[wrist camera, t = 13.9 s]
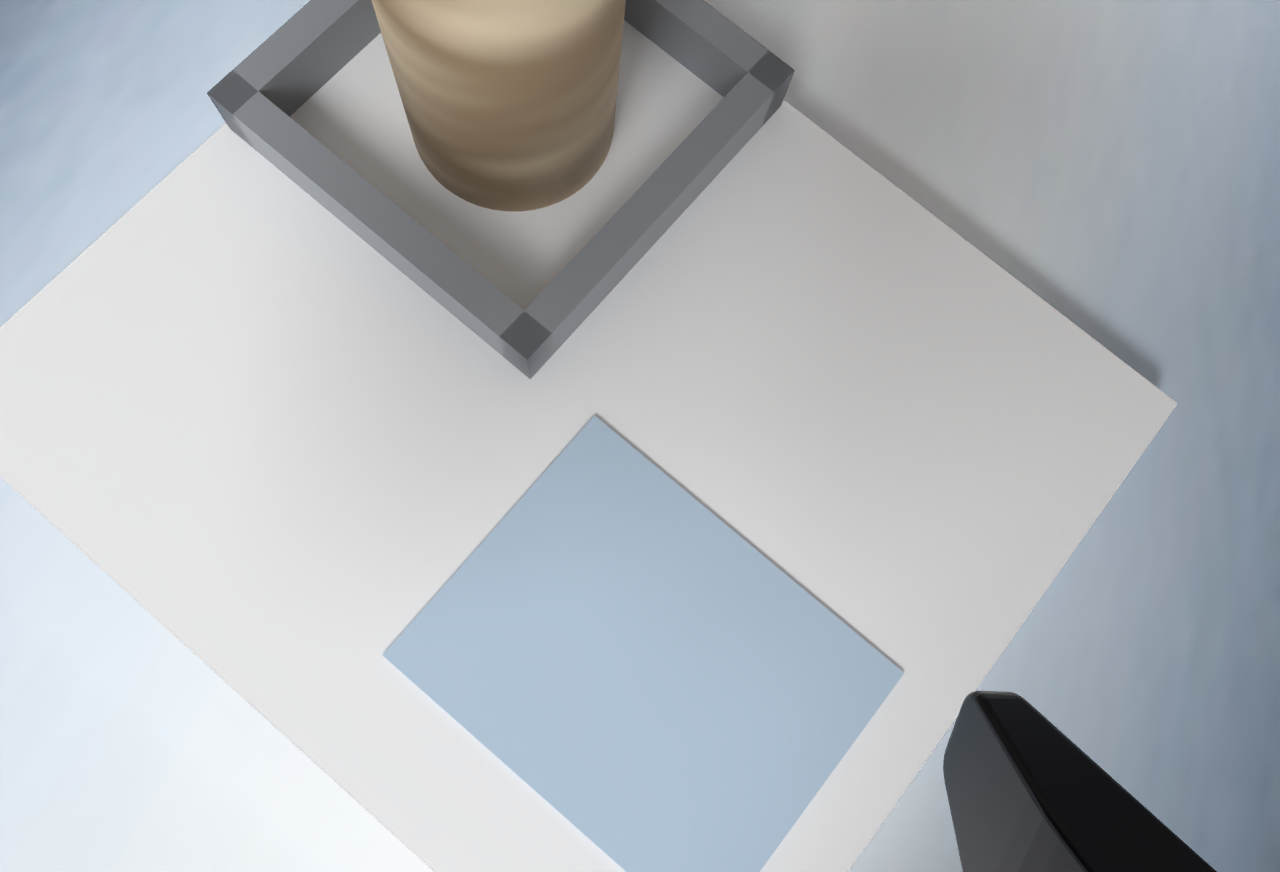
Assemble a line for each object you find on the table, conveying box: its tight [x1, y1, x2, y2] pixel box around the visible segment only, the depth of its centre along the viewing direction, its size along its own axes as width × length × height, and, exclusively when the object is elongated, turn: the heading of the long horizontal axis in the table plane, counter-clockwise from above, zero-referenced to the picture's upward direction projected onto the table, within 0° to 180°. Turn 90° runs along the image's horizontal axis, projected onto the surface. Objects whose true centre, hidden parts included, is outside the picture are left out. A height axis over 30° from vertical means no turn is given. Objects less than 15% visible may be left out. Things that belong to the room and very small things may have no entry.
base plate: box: [0, 0, 1178, 872], centre depth 22 cm, size 22×19×2 cm
